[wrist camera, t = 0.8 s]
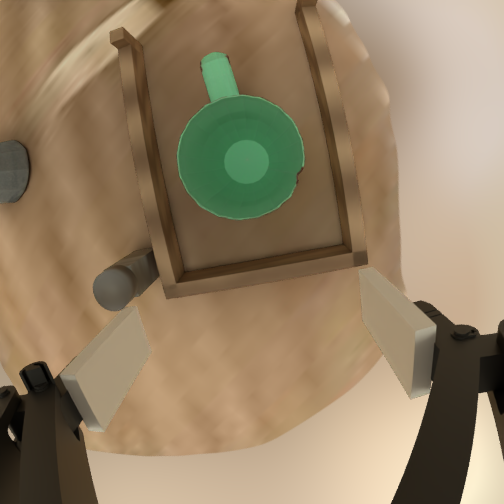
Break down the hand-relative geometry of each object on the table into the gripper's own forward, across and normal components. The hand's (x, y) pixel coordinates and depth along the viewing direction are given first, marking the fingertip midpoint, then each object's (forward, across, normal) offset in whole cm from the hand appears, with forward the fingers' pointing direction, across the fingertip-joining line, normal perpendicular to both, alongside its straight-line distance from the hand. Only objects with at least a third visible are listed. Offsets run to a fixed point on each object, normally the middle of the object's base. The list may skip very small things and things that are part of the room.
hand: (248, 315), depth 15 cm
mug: (+20, 0, +11) cm, 23 cm away
